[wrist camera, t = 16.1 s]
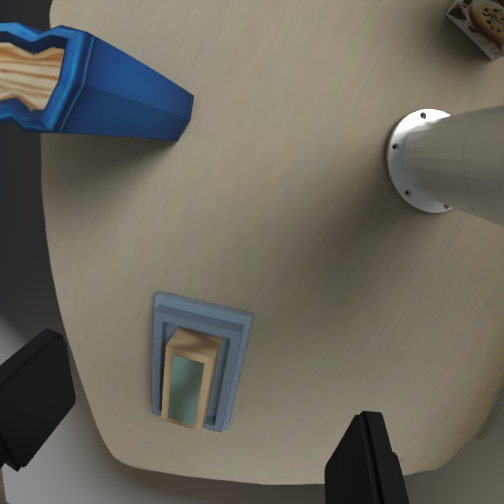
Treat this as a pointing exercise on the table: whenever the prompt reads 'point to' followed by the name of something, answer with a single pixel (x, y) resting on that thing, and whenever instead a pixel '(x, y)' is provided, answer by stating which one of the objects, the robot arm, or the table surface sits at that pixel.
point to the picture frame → (189, 377)
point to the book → (84, 87)
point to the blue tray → (208, 322)
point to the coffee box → (481, 23)
